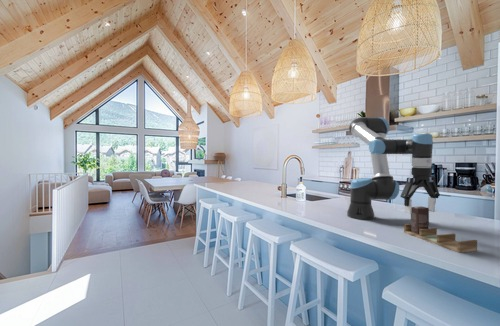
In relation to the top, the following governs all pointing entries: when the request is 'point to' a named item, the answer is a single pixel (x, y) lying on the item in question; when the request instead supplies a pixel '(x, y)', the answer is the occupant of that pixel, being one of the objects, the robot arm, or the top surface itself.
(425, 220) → the box
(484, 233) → the top surface
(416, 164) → the robot arm
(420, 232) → the wooden stepped piece
